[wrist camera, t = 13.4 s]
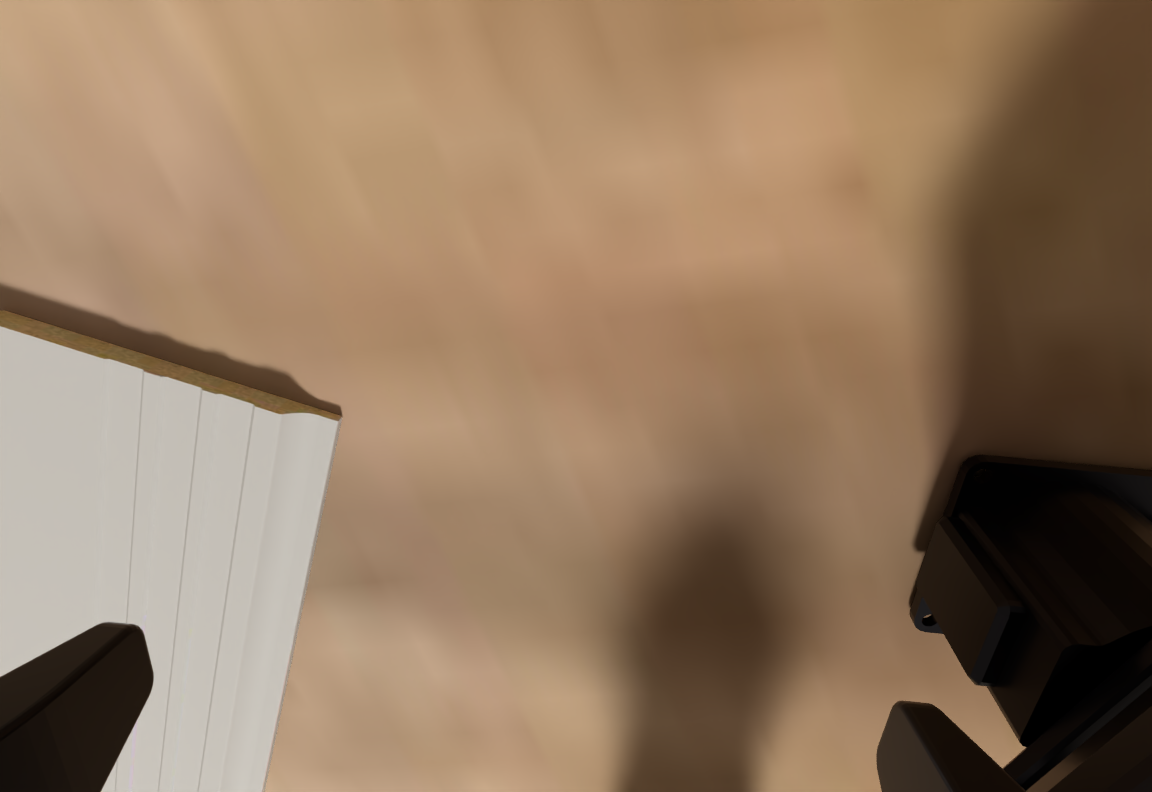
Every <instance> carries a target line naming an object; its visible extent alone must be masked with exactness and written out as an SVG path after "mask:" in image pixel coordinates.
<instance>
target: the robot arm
mask: <svg viewBox="0 0 1152 792" xmlns="http://www.w3.org/2000/svg"><path fill="white" fill-rule="evenodd" d="M981 469H986V470H985V472H984V473H983V474H982V475H980V476H977V477H974V475H975V474H976V472H977V471H979V470H981ZM916 586H917V588H918V589H917V592H916V595H915V598H914V600H913V603H912V606H911V609H910V617H911V619H912V621H913V623H914V625H915V627H916V628H917V629H919V630H920V631H924V632H930V633H941V634H944V635H945V637H946V639H947V641H948V642H949V644H950V646H951V648H952V649H953V651H954V653H955V655H956V656H957V658H958V660H959V662H960V663H961V665H962V667H963V669H964V670H965V672H966V674H967V676H968V677H969V678H970V679H971V680H972V682H973V683H974V684H975V685H981V686H987V688H988V689H989V691H990V693H991V694H992V696H993V698H994V699H995V701H996V703H997V705H998V706H999V708H1000V710H1001V711H1002V713H1003V715H1004V716H1005V718H1006V720H1007V722H1008V723H1009V725H1010V727H1011V728H1012V730H1013V732H1014V733H1015V735H1016V737H1017V738H1018V740H1019V742H1020V743H1021V744H1022V746H1025V747H1026V748H1025V749H1024V750H1023V751H1022V752H1021V753H1020V754H1018V755H1017V756H1016V757H1015V758H1014V759H1013V760H1012V761H1010V762H1009V763H1008V764H1007V765H1006V766H1005V767H1004V768H1001V767H1000V766H999V765H998V764H997V763H996V762H995V761H994V760H993V759H992V758H991V757H989V756H988V755H987V754H986V753H985V752H984V751H983V750H982V749H981V748H980V747H979V746H978V745H977V744H976V743H975V742H974V741H973V740H971V739H970V738H969V737H968V736H967V735H966V734H965V733H964V732H963V731H962V730H961V729H960V728H959V727H958V726H957V725H956V724H955V723H953V722H952V721H951V720H950V719H949V718H948V717H947V716H946V715H945V714H944V713H943V712H942V711H941V710H940V709H938V708H937V707H935V706H934V705H932V704H929V703H920V702H910V701H898V702H897V703H896V704H894V705H893V707H892V709H891V712H890V715H889V717H888V720H887V723H886V726H885V728H884V731H883V734H882V737H881V740H880V742H879V745H878V749H877V770H878V775H879V780H880V785H881V790H882V792H1152V470H1141V469H1130V468H1119V467H1108V466H1097V465H1087V464H1076V463H1065V462H1054V461H1043V460H1032V459H1022V458H1011V457H1000V456H989V455H975V456H972V457H970V458H968V459H967V460H966V461H964V462H963V464H962V465H961V467H960V469H959V472H958V475H957V478H956V481H955V483H954V486H953V489H952V492H951V495H950V498H949V501H948V503H947V506H946V509H945V512H944V515H943V517H942V518H941V519H940V520H939V521H938V522H937V523H936V526H935V529H934V532H933V535H932V537H931V540H930V543H929V546H928V549H927V552H926V555H925V558H924V560H923V563H922V566H921V569H920V572H919V575H918V578H917V581H916ZM929 614H932V615H931V616H929V617H927V618H923V617H924V616H926V615H929ZM153 682H154V672H153V668H152V664H151V660H150V656H149V652H148V647H147V643H146V639H145V635H144V632H143V630H142V629H141V628H140V627H139V626H138V625H135V624H127V623H117V622H103V623H100V624H98V625H96V626H94V627H92V628H90V629H88V630H86V631H84V632H82V633H81V634H79V635H77V636H75V637H73V638H71V639H69V640H68V641H66V642H64V643H62V644H60V645H58V646H56V647H55V648H53V649H51V650H49V651H47V652H45V653H43V654H42V655H40V656H38V657H36V658H34V659H32V660H30V661H29V662H27V663H25V664H23V665H21V666H19V667H17V668H16V669H14V670H12V671H10V672H8V673H6V674H5V675H3V676H1V677H0V792H101V791H102V789H103V787H104V785H105V783H106V781H107V779H108V777H109V775H110V773H111V771H112V769H113V767H114V765H115V763H116V761H117V759H118V757H119V755H120V753H121V751H122V749H123V747H124V745H125V743H126V741H127V739H128V737H129V735H130V733H131V731H132V730H133V728H134V726H135V724H136V722H137V720H138V718H139V716H140V714H141V712H142V710H143V708H144V706H145V704H146V702H147V700H148V698H149V696H150V693H151V690H152V687H153Z"/></svg>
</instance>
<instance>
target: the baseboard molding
mask: <svg viewBox="0 0 1152 792" xmlns="http://www.w3.org/2000/svg"><path fill="white" fill-rule="evenodd" d="M341 421H342V416H340V415H337V414H334V413H330V412H327V411H324V410H321V409H318V408H315V407H311V406H308V405H305V404H302V403H299V402H295V401H292V400H289V399H286V398H283V397H280V396H276V395H273V394H270V393H267V392H264V391H260V390H257V389H254V388H251V387H248V386H244V385H241V384H238V383H235V382H232V381H229V380H225V379H222V378H219V377H216V376H213V375H209V374H206V373H203V372H200V371H197V370H194V369H190V368H187V367H184V366H181V365H178V364H174V363H171V362H168V361H165V360H162V359H158V358H155V357H152V356H149V355H146V354H143V353H139V352H136V351H133V350H130V349H127V348H123V347H120V346H117V345H114V344H111V343H108V342H104V341H101V340H98V339H95V338H92V337H88V336H85V335H82V334H79V333H76V332H72V331H69V330H66V329H63V328H60V327H57V326H53V325H50V324H47V323H44V322H41V321H37V320H34V319H31V318H28V317H25V316H22V315H18V314H15V313H12V312H9V311H6V310H1V311H0V677H1V676H3V675H5V674H6V673H8V672H10V671H12V670H14V669H16V668H17V667H19V666H21V665H23V664H25V663H27V662H29V661H30V660H32V659H34V658H36V657H38V656H40V655H42V654H43V653H45V652H47V651H49V650H51V649H53V648H55V647H56V646H58V645H60V644H62V643H64V642H66V641H68V640H69V639H71V638H73V637H75V636H77V635H79V634H81V633H82V632H84V631H86V630H88V629H90V628H92V627H94V626H96V625H98V624H100V623H103V622H117V623H127V624H135V625H138V626H139V627H140V628H141V629H142V630H143V632H144V635H145V639H146V643H147V647H148V652H149V656H150V660H151V664H152V668H153V672H154V682H153V687H152V690H151V693H150V696H149V698H148V700H147V702H146V704H145V706H144V708H143V710H142V712H141V714H140V716H139V718H138V720H137V722H136V724H135V726H134V728H133V730H132V731H131V733H130V735H129V737H128V739H127V741H126V743H125V745H124V747H123V749H122V751H121V753H120V755H119V757H118V759H117V761H116V763H115V765H114V767H113V769H112V771H111V773H110V775H109V777H108V779H107V781H106V783H105V785H104V787H103V789H102V791H101V792H265V787H266V782H267V777H268V773H269V768H270V763H271V758H272V753H273V748H274V744H275V739H276V734H277V729H278V724H279V720H280V715H281V710H282V705H283V700H284V695H285V691H286V686H287V681H288V676H289V671H290V667H291V662H292V657H293V652H294V647H295V643H296V638H297V633H298V628H299V623H300V618H301V614H302V609H303V604H304V599H305V594H306V590H307V585H308V580H309V575H310V570H311V565H312V561H313V556H314V551H315V546H316V541H317V537H318V532H319V527H320V522H321V517H322V512H323V508H324V503H325V498H326V493H327V488H328V484H329V479H330V474H331V469H332V464H333V460H334V455H335V450H336V445H337V440H338V435H339V431H340V426H341Z"/></svg>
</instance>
